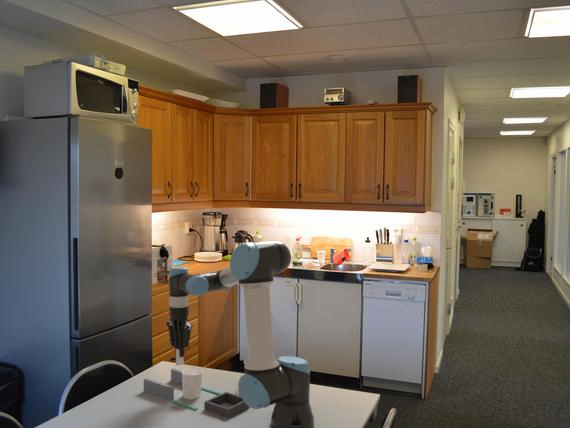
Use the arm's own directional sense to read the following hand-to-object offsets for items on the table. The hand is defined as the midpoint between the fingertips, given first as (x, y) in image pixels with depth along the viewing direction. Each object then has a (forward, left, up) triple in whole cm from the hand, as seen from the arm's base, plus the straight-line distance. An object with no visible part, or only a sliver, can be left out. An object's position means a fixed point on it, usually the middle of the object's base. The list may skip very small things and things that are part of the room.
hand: (180, 364), depth 212 cm
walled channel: (+5, 0, -12) cm, 12 cm away
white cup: (-7, 0, -12) cm, 14 cm away
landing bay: (-11, 0, -12) cm, 16 cm away
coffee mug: (-20, -24, -12) cm, 34 cm away
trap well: (-25, 0, -12) cm, 28 cm away
